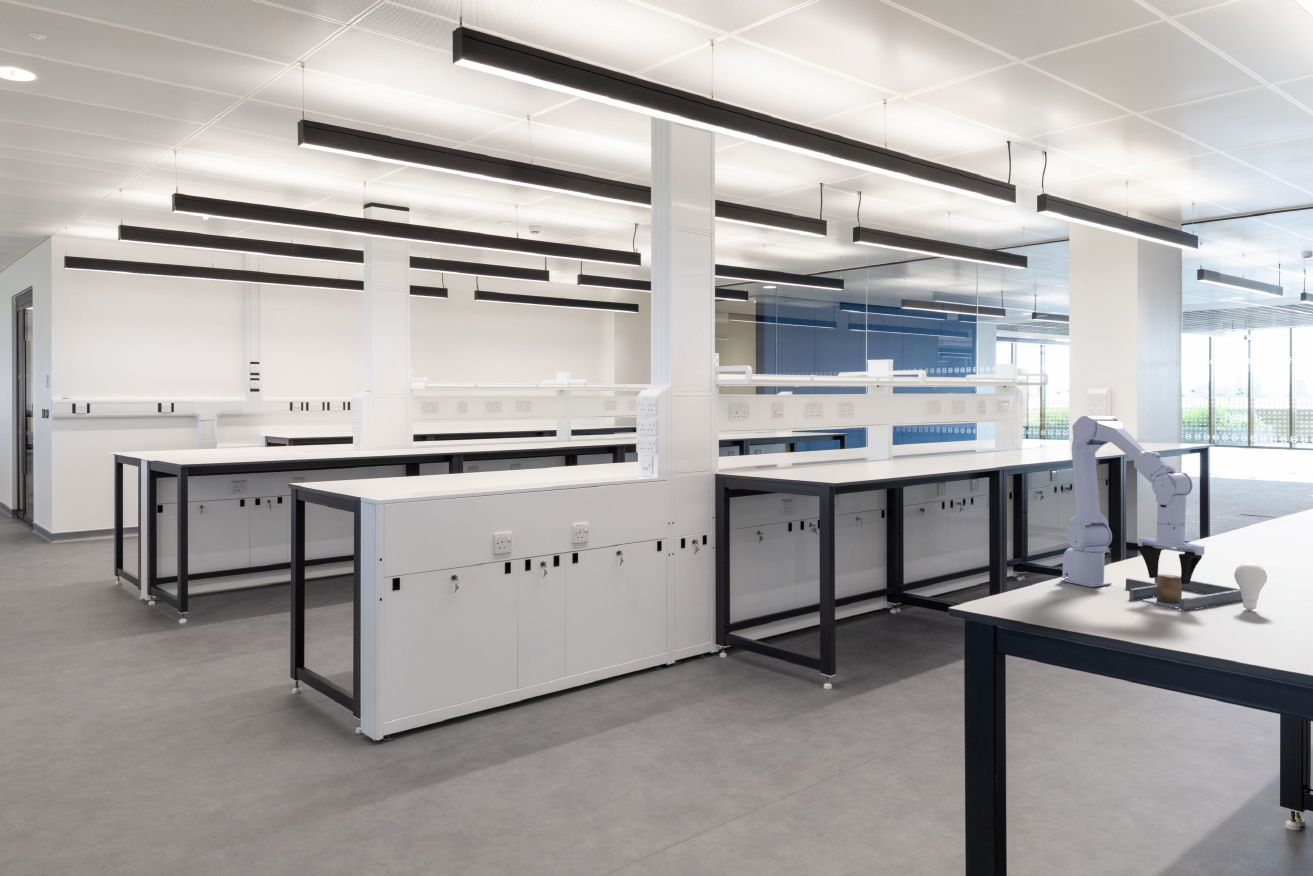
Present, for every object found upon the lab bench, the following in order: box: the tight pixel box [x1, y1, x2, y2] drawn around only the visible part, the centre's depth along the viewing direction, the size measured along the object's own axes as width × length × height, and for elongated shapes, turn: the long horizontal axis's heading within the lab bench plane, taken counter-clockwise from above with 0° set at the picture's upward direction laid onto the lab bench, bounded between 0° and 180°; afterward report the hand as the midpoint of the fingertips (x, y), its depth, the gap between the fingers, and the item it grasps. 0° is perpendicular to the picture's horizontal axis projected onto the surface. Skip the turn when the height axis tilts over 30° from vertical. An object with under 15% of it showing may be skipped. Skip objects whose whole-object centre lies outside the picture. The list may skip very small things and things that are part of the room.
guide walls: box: [1125, 577, 1243, 611], centre depth 208 cm, size 22×24×2 cm
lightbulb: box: [1234, 562, 1268, 612], centre depth 194 cm, size 6×6×11 cm
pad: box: [1141, 597, 1180, 608], centre depth 201 cm, size 8×8×1 cm
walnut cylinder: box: [1156, 573, 1183, 604], centre depth 201 cm, size 5×5×6 cm
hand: (1169, 580), depth 201 cm, fingers open, 7 cm apart
